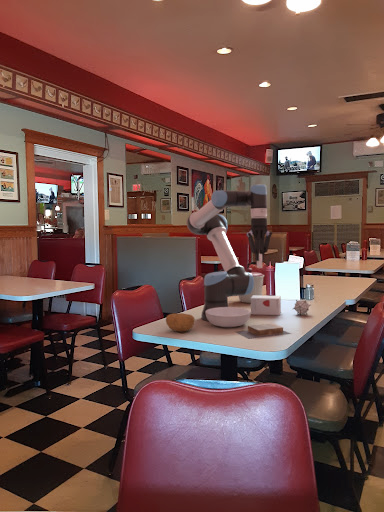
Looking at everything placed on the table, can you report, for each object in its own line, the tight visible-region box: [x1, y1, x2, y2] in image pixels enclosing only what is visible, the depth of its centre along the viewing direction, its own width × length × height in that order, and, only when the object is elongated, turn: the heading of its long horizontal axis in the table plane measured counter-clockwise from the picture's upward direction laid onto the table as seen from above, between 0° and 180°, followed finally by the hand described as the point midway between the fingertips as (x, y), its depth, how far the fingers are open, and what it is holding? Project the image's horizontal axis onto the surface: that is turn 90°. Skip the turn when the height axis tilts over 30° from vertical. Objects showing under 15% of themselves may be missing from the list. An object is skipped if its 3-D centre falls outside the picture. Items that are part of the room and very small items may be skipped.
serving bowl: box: [205, 306, 251, 328], centre depth 189 cm, size 21×21×7 cm
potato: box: [165, 312, 196, 333], centre depth 181 cm, size 10×14×8 cm
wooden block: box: [247, 322, 284, 336], centre depth 174 cm, size 2×9×12 cm
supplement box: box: [250, 295, 282, 316], centre depth 216 cm, size 9×9×15 cm
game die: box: [292, 298, 311, 316], centre depth 211 cm, size 9×8×10 cm
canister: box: [238, 267, 265, 304], centre depth 253 cm, size 18×18×21 cm
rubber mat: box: [235, 329, 292, 340], centre depth 174 cm, size 20×13×1 cm, turn 110°
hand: (259, 267), depth 193 cm, fingers closed
